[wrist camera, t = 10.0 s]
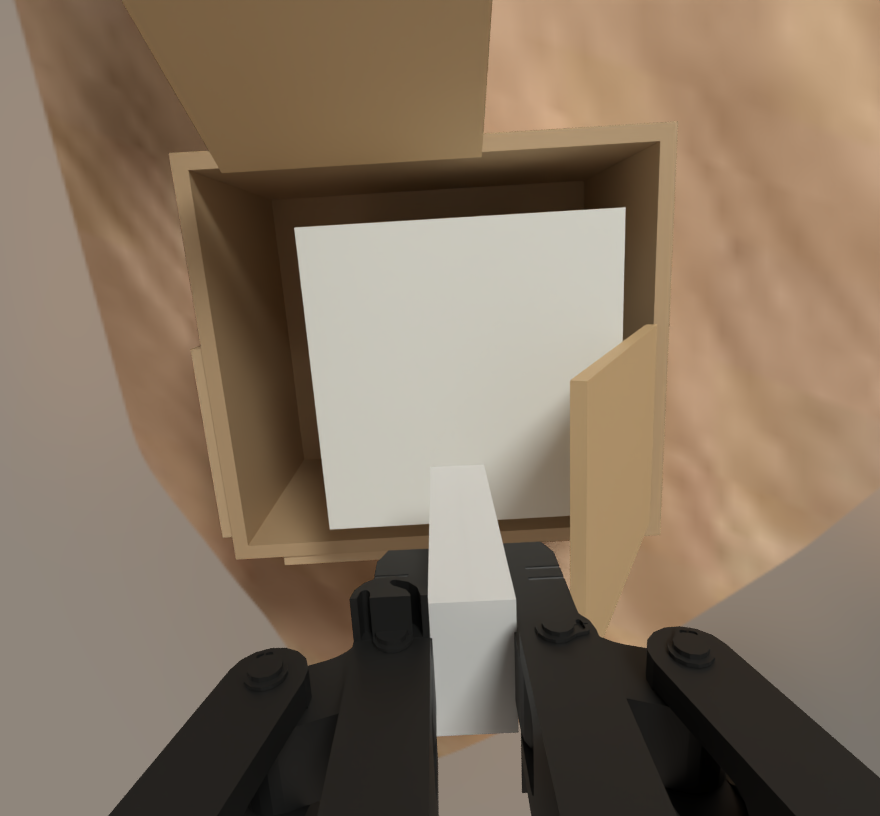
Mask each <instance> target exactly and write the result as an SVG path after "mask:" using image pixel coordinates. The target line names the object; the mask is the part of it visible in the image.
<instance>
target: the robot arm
mask: <svg viewBox="0 0 880 816" xmlns="http://www.w3.org/2000/svg"><path fill="white" fill-rule="evenodd" d="M350 608H351V618H352V628H353V638H354V643H353V647H352V648H351V649H350V650H349V651H347V652H345V653H344V654H342V655H340V656H338V657H336V658H333V659H330V660H327V661H324V662H320V663H317V664H313V665H309V666H308V665H307V660H306V658H305V657H304V656H303V655H302V654H300V653H299V652H298V651H295V650H291V649H288V648H270V649H266V650H263V651H259V652H256V653H254V654H252V655H250V656H248V657H246V658H244V659H242V660H241V661H239V662H238V663H237V664H236V665H235V666H234V667H233V668H231V669H230V670H229V671H228V673H227V674H226V675H225V676H224V678H223V679H222V680H221V681H220V682H219V684H218V685H217V686H216V687H215V689H214V690H213V691H212V692H211V693H210V694H209V696H208V697H207V698H206V699H205V701H203V703H202V704H201V705H200V707H199V708H198V709H197V710H196V711H195V712H194V714H193V715H192V716H191V717H190V718H189V720H188V721H187V722H186V723H185V724H184V726H183V727H182V728H181V729H180V730H179V732H178V733H177V734H176V735H175V736H174V738H173V739H172V740H171V741H170V742H169V744H168V745H167V746H166V747H165V748H164V750H163V751H162V752H161V753H160V754H159V756H158V757H157V758H156V759H155V761H154V762H153V763H152V764H151V765H150V766H149V768H148V769H147V770H146V771H145V772H144V774H143V775H142V776H141V777H140V778H139V780H138V781H137V782H136V783H135V784H134V786H133V787H132V788H131V789H130V790H129V792H128V793H127V794H126V795H125V796H124V798H123V799H122V800H121V801H120V802H119V804H118V805H117V806H116V807H115V808H114V810H113V811H112V812H111V813H110V814H109V816H439V815H438V753H437V736H453V735H474V734H495V733H516V732H518V718H519V723H520V728H521V756H522V758H521V759H522V793H528V798H529V804H530V810H531V816H880V778H879V777H878V776H877V775H876V774H875V773H874V772H872V771H871V770H870V769H869V768H867V766H865V765H864V764H863V763H862V762H861V761H860V760H859V759H857V758H856V757H855V756H854V755H853V754H852V753H851V752H849V751H848V750H847V749H846V748H845V747H844V746H842V745H841V744H840V743H839V742H838V741H837V740H836V739H834V738H833V737H832V736H831V735H830V734H829V733H828V732H826V731H825V730H824V729H823V728H822V727H821V726H820V725H818V724H817V723H816V722H815V721H814V720H813V719H811V718H810V717H809V716H808V715H807V714H806V713H805V712H803V711H802V710H801V709H800V708H799V707H797V706H796V705H795V704H794V703H793V702H792V701H791V700H790V699H788V698H787V697H786V696H785V695H784V694H783V693H782V692H780V691H779V690H778V689H777V688H776V687H775V686H773V685H772V684H771V683H770V682H769V681H768V680H767V679H765V678H764V677H763V676H762V675H761V674H760V673H759V672H757V671H756V670H755V669H754V668H753V667H752V666H751V665H749V664H748V663H747V662H746V661H745V660H744V659H743V658H741V657H740V656H739V655H738V654H737V653H736V652H734V651H733V650H732V649H731V648H730V647H729V646H727V645H726V644H725V643H723V642H722V641H721V640H719V639H718V638H716V637H715V636H713V635H711V634H708V633H706V632H703V631H700V630H698V629H693V628H687V627H680V626H679V627H666V628H663V629H660V630H658V631H655V632H653V634H652V635H651V636H650V637H649V639H648V640H647V648H642V647H636V646H630V645H624V644H620V643H616V642H612V641H609V640H607V639H605V638H602V637H600V636H599V634H598V632H597V630H596V628H595V627H594V625H593V624H592V623H591V621H590V620H589V619H587V618H585V617H584V616H582V615H581V614H579V613H578V611H577V608H576V606H575V604H574V601H573V599H572V596H571V594H570V591H569V589H568V586H567V584H566V581H565V579H564V578H563V574H562V571H561V569H560V568H559V564H558V562H557V559H556V557H555V554H554V552H553V551H552V550H550V549H549V548H548V547H547V546H545V545H544V544H543V543H541V542H520V543H503V542H502V538H501V534H500V530H499V525H498V521H497V517H496V513H495V509H494V504H493V500H492V496H491V492H490V488H489V483H488V479H487V475H486V471H485V467H484V464H483V465H462V466H442V467H431V472H430V517H429V549H409V550H389V551H387V552H386V553H385V555H384V556H383V557H382V558H381V559H380V560H379V561H378V562H377V566H376V571H375V578H374V580H371V581H368V582H366V583H364V584H362V585H361V586H360V587H358V588H357V589H356V590H354V592H353V594H352V596H351V597H350Z"/></svg>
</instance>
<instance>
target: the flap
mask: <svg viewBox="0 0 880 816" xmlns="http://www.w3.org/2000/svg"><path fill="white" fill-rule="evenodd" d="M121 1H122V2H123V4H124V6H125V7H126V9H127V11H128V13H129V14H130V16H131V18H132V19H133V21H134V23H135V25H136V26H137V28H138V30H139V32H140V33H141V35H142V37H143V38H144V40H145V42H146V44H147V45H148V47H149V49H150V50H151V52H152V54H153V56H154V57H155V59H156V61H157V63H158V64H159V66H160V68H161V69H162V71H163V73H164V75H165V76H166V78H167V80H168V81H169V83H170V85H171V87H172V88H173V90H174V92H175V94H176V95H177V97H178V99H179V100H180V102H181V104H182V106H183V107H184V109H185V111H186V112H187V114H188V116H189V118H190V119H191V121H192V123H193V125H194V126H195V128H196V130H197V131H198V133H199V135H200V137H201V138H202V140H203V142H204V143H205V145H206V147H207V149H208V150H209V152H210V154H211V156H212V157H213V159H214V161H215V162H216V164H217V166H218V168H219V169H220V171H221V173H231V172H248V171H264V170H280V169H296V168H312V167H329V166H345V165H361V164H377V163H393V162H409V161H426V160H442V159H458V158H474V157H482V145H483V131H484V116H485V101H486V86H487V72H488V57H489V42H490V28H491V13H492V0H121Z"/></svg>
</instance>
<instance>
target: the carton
mask: <svg viewBox="0 0 880 816" xmlns="http://www.w3.org/2000/svg"><path fill="white" fill-rule="evenodd" d="M677 136H678V121H676V122H660V123H644V124H628V125H612V126H596V127H580V128H563V129H547V130H531V131H515V132H499V133H483V145H482V157H474V158H458V159H442V160H426V161H409V162H393V163H377V164H361V165H345V166H329V167H312V168H296V169H280V170H264V171H248V172H231V173H221V171H220V169H219V168H218V166H217V164H216V162H215V161H214V159H213V157H212V156H211V154H210V152H209V151H193V152H177V153H169V159H170V165H171V172H172V178H173V184H174V190H175V196H176V202H177V208H178V214H179V220H180V226H181V232H182V238H183V244H184V250H185V256H186V262H187V268H188V274H189V280H190V286H191V292H192V298H193V304H194V310H195V316H196V322H197V328H198V334H199V340H200V346H199V347H196V348H194V349H191V356H192V362H193V367H194V373H195V379H196V385H197V391H198V397H199V403H200V408H201V414H202V420H203V426H204V432H205V438H206V443H207V449H208V455H209V461H210V467H211V473H212V479H213V484H214V490H215V496H216V502H217V508H218V514H219V520H220V525H221V531H222V537H223V538H226V537H232V539H233V545H234V551H235V557H236V560H237V559H255V558H272V557H284V563H285V565H296V564H314V563H331V562H349V561H366V560H380V559H381V558H382V557H383V556H384V555H385V553H386V552H387V551H389V550H409V549H429V517H430V472H431V467H442V466H462V465H483V464H484V467H485V471H486V475H487V479H488V483H489V488H490V492H491V496H492V500H493V504H494V509H495V513H496V517H497V521H498V525H499V530H500V534H501V538H502V542H503V543H520V542H551V541H569V540H570V380H571V379H572V378H574V377H575V376H577V375H578V374H579V373H581V372H582V371H583V370H585V369H586V368H587V367H589V366H590V365H591V364H593V363H594V362H596V361H597V360H598V359H600V358H601V357H602V356H604V355H605V354H606V353H608V352H609V351H611V350H612V349H613V348H615V347H616V346H617V345H619V344H620V343H621V342H623V341H624V340H625V339H627V338H628V337H630V336H631V335H632V334H634V333H635V332H636V331H638V330H639V329H640V328H642V327H643V326H644V325H646V324H657V344H656V370H655V397H654V423H653V449H652V476H651V502H650V522H649V525H648V527H647V530H646V532H645V535H644V536H656V535H660V530H661V507H662V484H663V460H664V437H665V414H666V391H667V368H668V345H669V321H670V298H671V275H672V252H673V229H674V205H675V182H676V159H677Z"/></svg>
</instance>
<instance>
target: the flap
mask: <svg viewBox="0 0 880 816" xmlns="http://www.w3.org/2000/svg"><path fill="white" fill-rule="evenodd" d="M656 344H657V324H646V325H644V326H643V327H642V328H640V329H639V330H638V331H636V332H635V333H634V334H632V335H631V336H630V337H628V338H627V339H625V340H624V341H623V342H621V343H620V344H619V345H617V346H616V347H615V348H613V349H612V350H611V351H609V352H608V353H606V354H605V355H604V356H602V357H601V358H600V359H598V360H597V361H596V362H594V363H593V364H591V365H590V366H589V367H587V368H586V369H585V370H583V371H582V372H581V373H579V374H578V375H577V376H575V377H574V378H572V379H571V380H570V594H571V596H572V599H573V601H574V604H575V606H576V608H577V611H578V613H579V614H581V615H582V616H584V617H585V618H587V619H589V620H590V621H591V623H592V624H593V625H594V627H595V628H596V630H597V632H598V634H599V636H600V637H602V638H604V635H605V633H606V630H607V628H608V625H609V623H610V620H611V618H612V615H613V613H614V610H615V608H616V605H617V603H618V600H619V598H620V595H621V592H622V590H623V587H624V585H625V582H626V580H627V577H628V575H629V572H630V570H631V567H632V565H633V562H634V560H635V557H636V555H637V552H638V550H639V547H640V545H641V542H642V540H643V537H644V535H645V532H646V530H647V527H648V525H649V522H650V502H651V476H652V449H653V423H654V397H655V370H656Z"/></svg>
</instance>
